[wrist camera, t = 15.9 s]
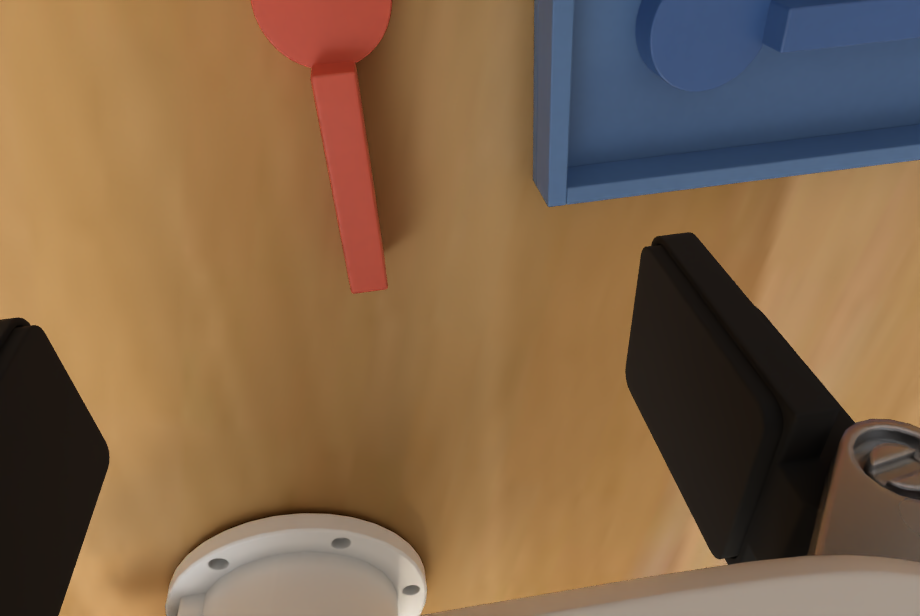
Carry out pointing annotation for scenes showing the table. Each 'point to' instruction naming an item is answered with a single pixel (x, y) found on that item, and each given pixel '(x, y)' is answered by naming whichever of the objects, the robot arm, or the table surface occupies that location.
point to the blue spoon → (757, 33)
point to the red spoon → (338, 111)
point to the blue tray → (706, 111)
